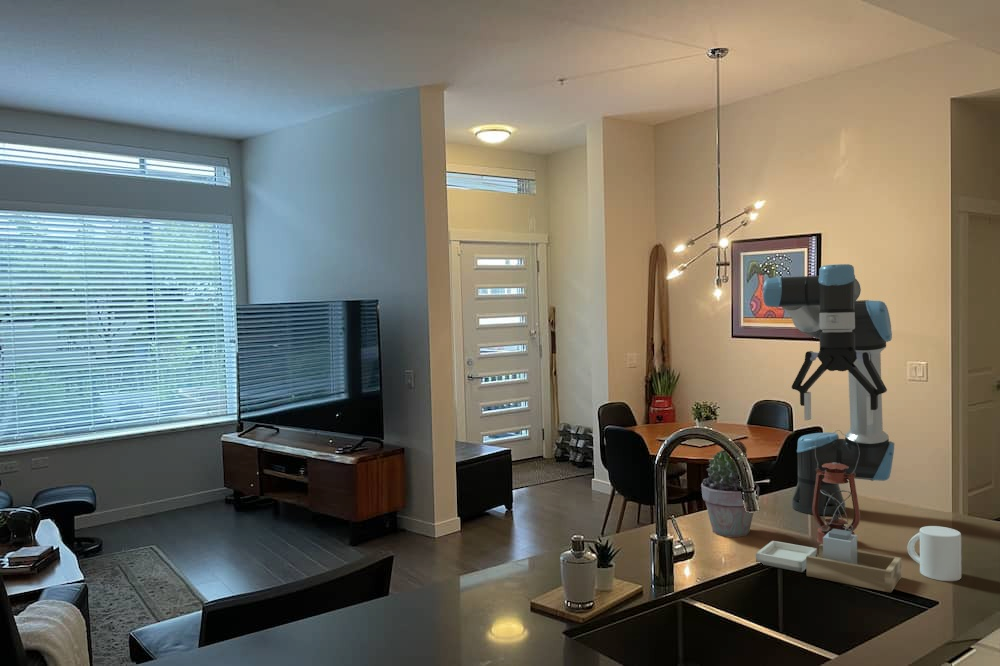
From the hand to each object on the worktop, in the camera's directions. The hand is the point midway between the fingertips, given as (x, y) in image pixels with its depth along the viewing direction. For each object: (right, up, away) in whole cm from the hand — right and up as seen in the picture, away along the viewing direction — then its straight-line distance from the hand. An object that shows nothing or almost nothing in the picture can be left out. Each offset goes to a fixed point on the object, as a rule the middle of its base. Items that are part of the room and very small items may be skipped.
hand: (838, 422), depth 172 cm
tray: (-8, -36, +11) cm, 38 cm away
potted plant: (-14, -36, +35) cm, 51 cm away
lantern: (+11, -35, +24) cm, 44 cm away
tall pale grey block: (+1, -36, +1) cm, 36 cm away
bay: (+3, -36, -1) cm, 36 cm away
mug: (+23, -36, +1) cm, 42 cm away
